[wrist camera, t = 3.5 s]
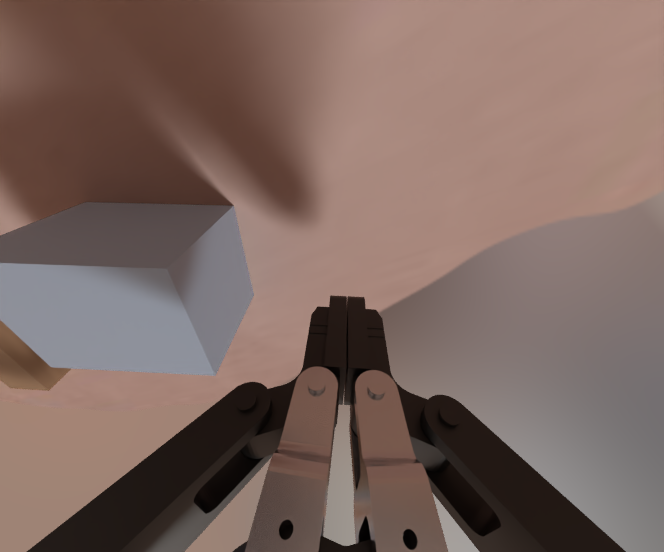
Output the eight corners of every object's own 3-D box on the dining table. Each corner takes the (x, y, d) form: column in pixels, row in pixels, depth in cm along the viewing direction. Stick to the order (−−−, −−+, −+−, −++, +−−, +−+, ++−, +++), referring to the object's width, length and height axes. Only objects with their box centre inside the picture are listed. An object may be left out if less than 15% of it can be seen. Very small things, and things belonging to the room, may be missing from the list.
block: (87, 201, 13) (-64, 260, 8) (234, 204, 13) (167, 268, 8) (137, 289, 17) (51, 367, 12) (254, 293, 17) (215, 375, 12)
